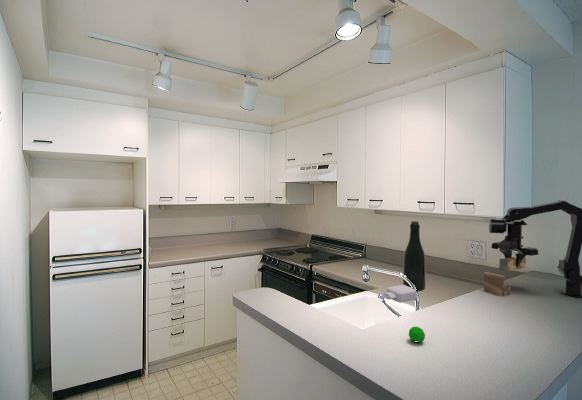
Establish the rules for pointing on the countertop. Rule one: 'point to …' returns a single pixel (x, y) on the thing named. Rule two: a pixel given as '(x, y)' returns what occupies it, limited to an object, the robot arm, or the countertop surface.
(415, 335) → the green ball
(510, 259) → the oak rail
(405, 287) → the charger
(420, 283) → the dark wine bottle
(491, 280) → the notched wooden block
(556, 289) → the countertop surface
